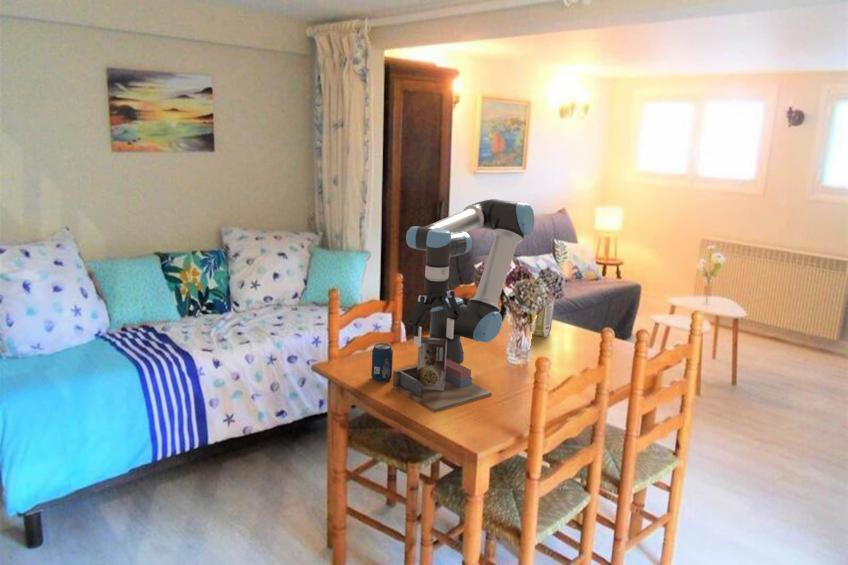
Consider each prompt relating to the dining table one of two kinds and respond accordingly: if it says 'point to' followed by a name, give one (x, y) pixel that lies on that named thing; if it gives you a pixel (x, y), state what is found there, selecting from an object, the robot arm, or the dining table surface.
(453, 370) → the books
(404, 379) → the grey upright panel
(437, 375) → the coffee box
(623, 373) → the dining table surface
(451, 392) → the book stand
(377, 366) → the soda can
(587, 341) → the dining table surface
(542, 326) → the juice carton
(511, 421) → the dining table surface
